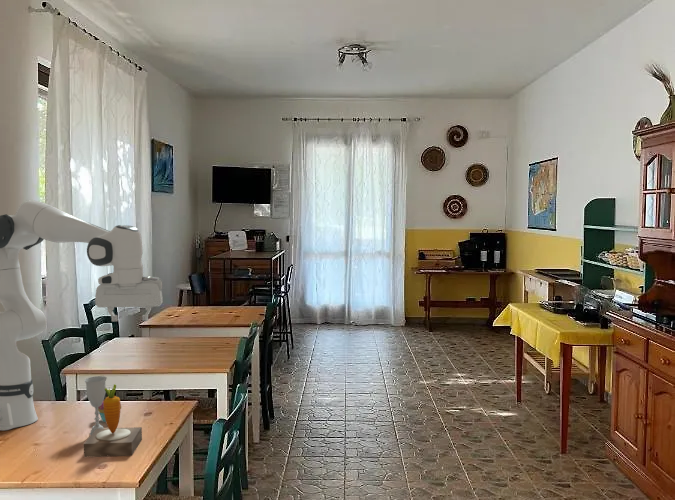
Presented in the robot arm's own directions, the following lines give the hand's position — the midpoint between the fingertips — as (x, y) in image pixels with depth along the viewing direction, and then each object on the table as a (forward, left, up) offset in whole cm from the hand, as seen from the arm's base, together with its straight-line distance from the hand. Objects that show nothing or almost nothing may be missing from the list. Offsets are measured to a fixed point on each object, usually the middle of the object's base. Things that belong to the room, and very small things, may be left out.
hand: (129, 321), depth 218 cm
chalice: (-13, +8, -38) cm, 41 cm away
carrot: (-5, -7, -34) cm, 35 cm away
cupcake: (-13, +22, -38) cm, 46 cm away
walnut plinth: (-4, -7, -38) cm, 39 cm away
